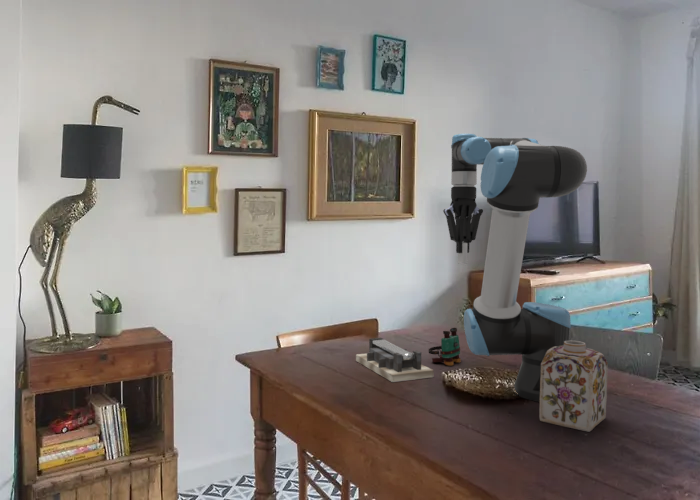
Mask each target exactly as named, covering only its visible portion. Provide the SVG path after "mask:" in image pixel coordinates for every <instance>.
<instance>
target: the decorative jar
mask: <svg viewBox="0 0 700 500" xmlns="http://www.w3.org/2000/svg"><path fill="white" fill-rule="evenodd" d="M608 364H609V362H608V361H607V359H606V357H605V355H604V354H603V353H602V352H600V351H598V350H596V349H593V348H588V347H587V345H586V343H585V342H583V341H580V340H570V341H564V346H555V347H552V348H550V349H549V350H547V352H546V355H545V357H544V358H543V361H542V363H541V378H540V402H539V410H538V411H539V421H540V422H543V423H547V424H551V425H554V426H555V425H556V426H559V427H563V428H569V429H570V428H571V429H575V430H579V431H583V432H588V433H590V432H591V431H593V429H595V428H596V426H599V424H600V423H601V422H602V421H604V420H605V419H606V415H607V399H608V398H607V395H608Z"/></svg>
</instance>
